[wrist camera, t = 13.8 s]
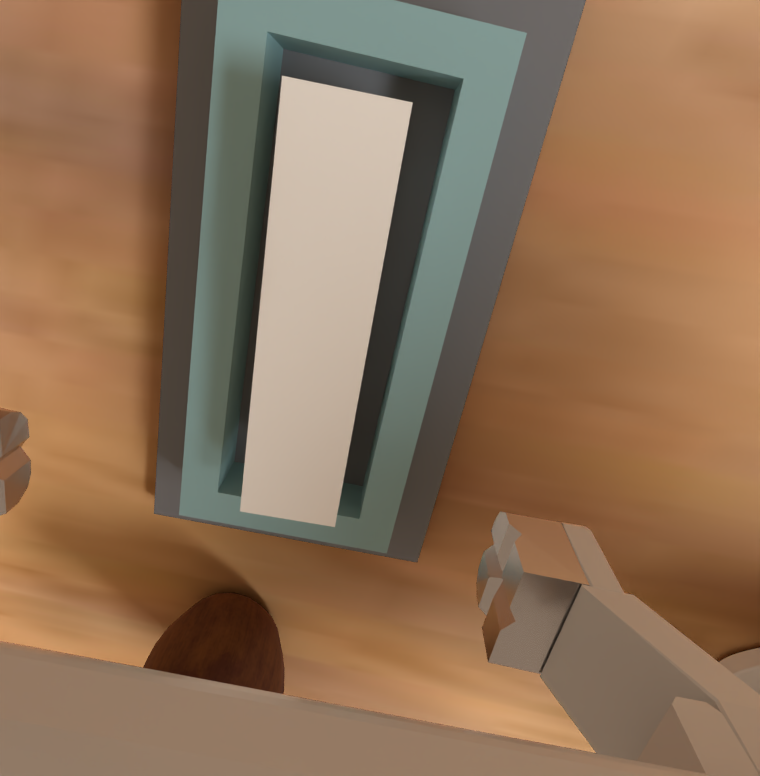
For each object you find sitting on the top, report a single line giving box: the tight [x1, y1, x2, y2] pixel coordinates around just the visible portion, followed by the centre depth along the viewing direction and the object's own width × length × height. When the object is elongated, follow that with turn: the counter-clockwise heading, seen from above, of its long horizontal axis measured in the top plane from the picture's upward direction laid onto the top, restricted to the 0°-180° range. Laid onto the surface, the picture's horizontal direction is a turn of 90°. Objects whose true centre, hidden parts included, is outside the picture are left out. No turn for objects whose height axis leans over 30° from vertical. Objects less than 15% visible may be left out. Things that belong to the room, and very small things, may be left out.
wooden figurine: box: [143, 593, 284, 694], centre depth 22 cm, size 7×6×15 cm
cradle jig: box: [154, 0, 586, 562], centre depth 21 cm, size 24×13×4 cm, turn 168°
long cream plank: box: [240, 76, 413, 527], centre depth 19 cm, size 14×4×5 cm, turn 170°
